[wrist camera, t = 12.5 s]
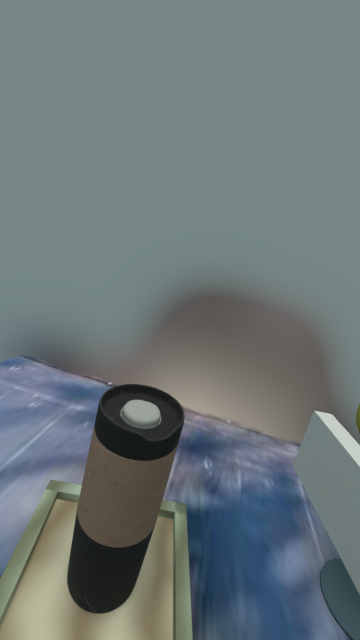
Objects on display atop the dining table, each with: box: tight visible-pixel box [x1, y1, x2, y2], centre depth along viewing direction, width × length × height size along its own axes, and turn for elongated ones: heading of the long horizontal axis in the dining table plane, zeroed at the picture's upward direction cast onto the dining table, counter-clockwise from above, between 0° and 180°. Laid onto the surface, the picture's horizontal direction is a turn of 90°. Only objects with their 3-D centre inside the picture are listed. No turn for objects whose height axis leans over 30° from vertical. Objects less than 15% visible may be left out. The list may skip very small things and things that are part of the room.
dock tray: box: [0, 480, 192, 640], centre depth 31 cm, size 18×18×3 cm
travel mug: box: [67, 384, 184, 613], centre depth 28 cm, size 8×8×20 cm
